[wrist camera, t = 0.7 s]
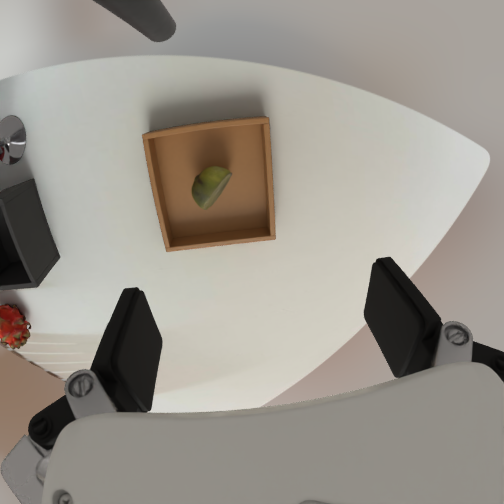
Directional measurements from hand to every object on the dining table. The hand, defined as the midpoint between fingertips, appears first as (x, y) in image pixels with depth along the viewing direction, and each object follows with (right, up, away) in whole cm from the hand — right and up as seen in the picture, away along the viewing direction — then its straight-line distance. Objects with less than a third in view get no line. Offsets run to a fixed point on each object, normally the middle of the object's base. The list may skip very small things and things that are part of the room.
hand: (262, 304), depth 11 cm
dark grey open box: (-36, +6, +21) cm, 42 cm away
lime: (-5, +10, +21) cm, 24 cm away
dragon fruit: (-47, -10, +29) cm, 56 cm away
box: (-5, +10, +21) cm, 24 cm away
